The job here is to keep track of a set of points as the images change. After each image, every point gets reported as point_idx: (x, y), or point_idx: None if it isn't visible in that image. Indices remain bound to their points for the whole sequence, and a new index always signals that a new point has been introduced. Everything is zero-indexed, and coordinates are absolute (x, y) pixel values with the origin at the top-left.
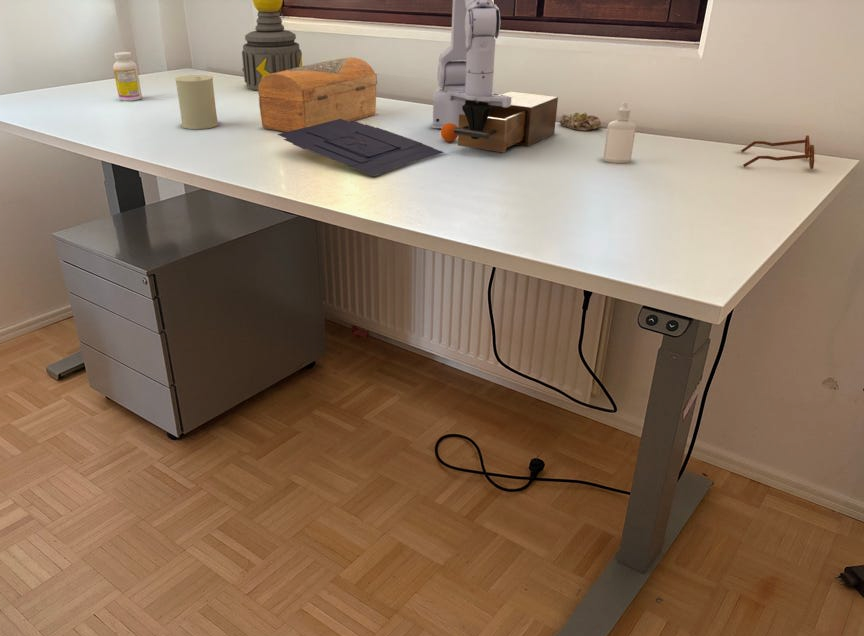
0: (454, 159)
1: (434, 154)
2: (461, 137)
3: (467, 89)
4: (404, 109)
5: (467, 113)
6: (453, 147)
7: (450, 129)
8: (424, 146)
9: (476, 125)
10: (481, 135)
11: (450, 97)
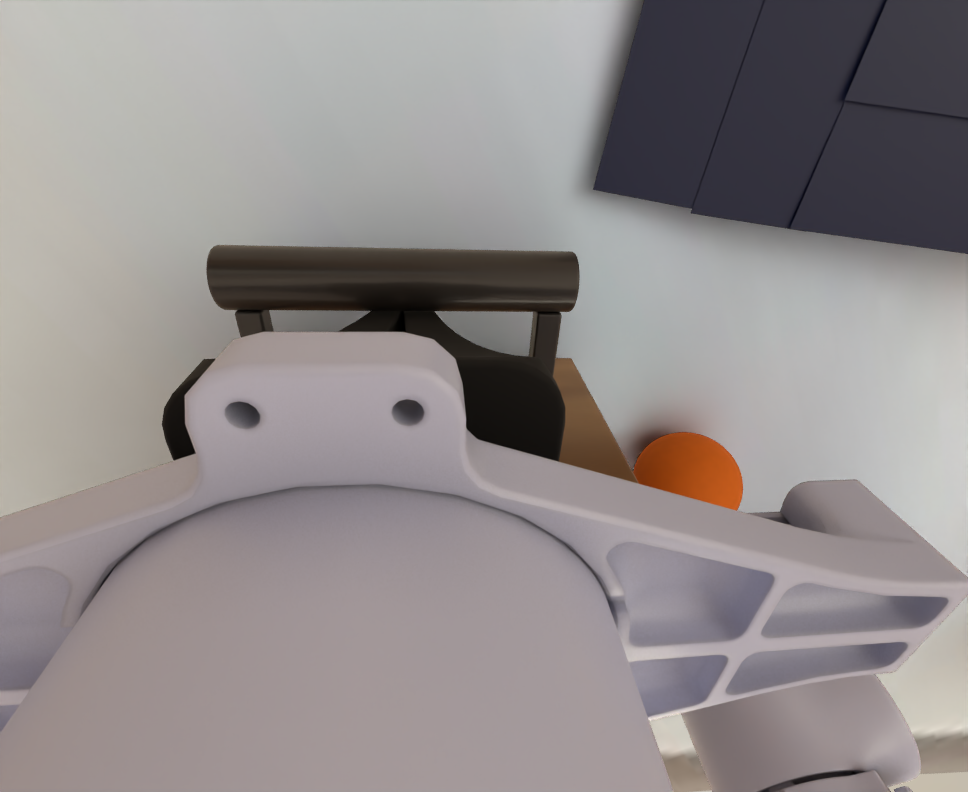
0: (473, 106)
1: (639, 79)
2: (560, 383)
3: (506, 625)
4: (941, 685)
5: (462, 354)
6: (603, 370)
7: (682, 472)
8: (762, 185)
9: (361, 330)
10: (272, 247)
11: (829, 513)
